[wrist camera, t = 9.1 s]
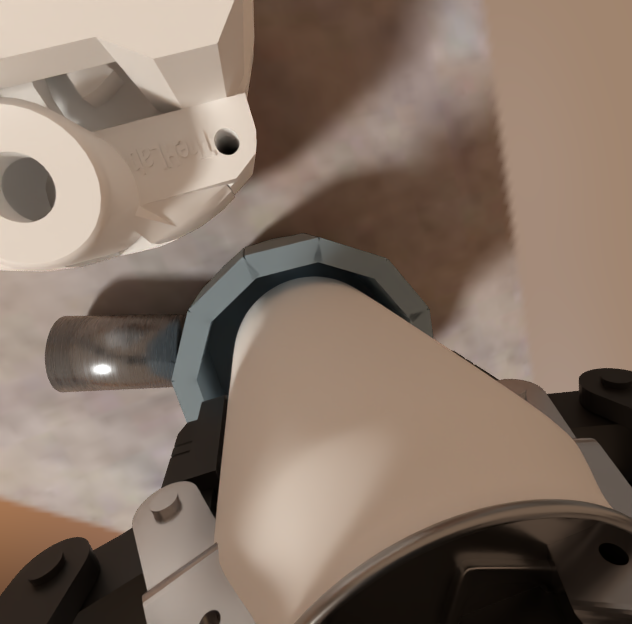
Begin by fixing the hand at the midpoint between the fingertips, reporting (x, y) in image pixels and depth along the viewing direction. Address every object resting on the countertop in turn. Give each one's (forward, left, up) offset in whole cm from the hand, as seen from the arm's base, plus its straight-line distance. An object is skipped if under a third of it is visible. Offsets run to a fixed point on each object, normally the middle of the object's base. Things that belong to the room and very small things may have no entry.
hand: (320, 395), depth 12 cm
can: (0, 0, -4) cm, 4 cm away
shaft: (-7, +2, -6) cm, 9 cm away
